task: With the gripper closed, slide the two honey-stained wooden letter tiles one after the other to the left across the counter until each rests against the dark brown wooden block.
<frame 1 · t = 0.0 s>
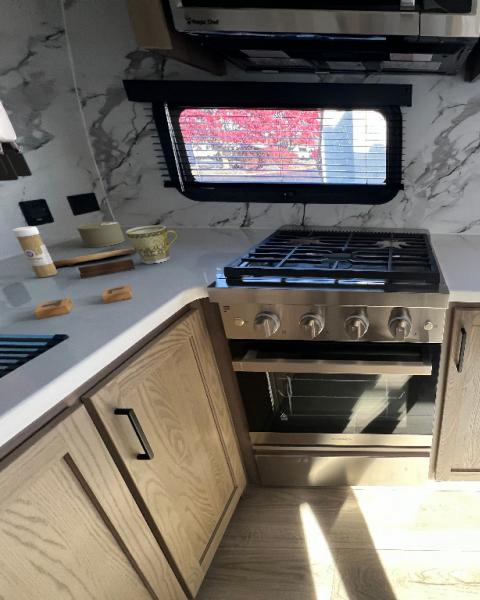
hand: (13, 178, 59), 28 cm above the worktop, tool pointing down, fingers open, 9 cm apart
tile T: (56, 311, 73), on the worktop
wooden board: (92, 259, 105), on the worktop
tile L: (119, 297, 79), on the worktop
ceramic cup: (162, 261, 104), on the worktop
sprinkles bottle: (48, 275, 93), on the worktop
dark brown wooden block: (109, 272, 95), on the worktop
olive green bowl: (106, 243, 123), on the worktop
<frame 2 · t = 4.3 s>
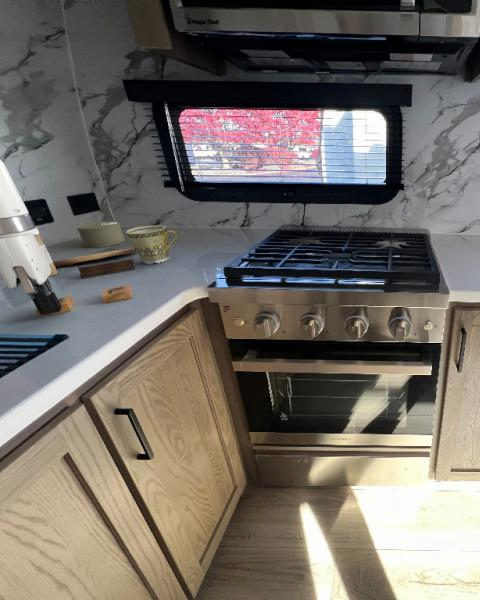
hand: (51, 311, 70), 1 cm above the worktop, tool pointing down, fingers closed
tile T: (57, 309, 74), on the worktop, touching gripper
everything else where it was.
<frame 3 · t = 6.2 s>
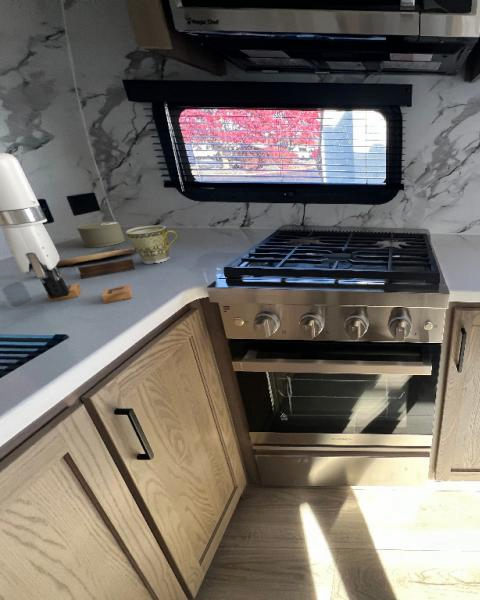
hand: (60, 295, 77), 1 cm above the worktop, tool pointing down, fingers closed
tile T: (66, 295, 81), on the worktop, touching gripper
everything else where it was.
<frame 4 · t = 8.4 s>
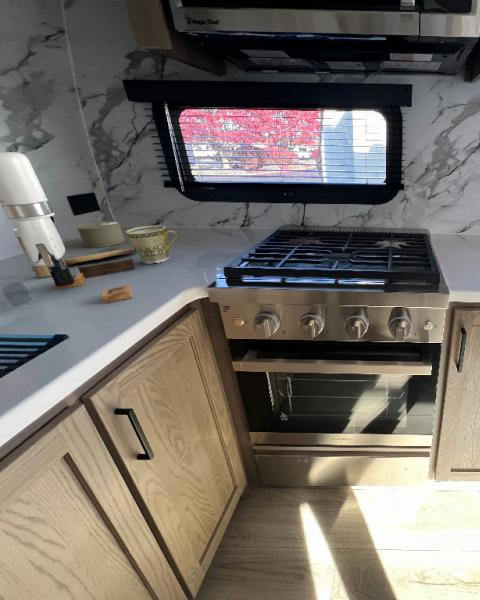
hand: (66, 284, 84), 1 cm above the worktop, tool pointing down, fingers closed
tile T: (71, 284, 87), on the worktop, touching gripper
everything else where it was.
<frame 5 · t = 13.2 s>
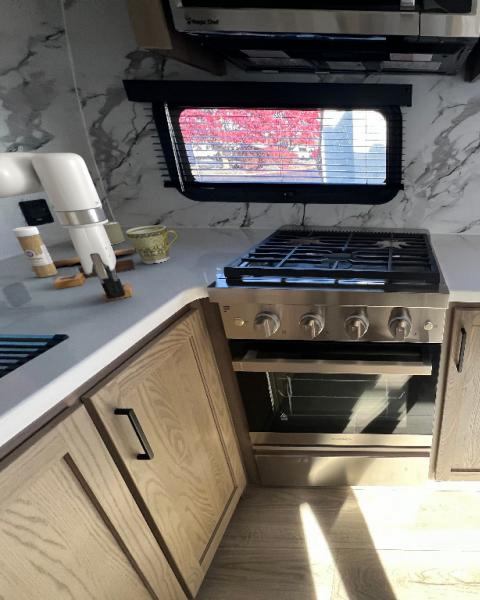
hand: (117, 296, 77), 1 cm above the worktop, tool pointing down, fingers closed
tile T: (71, 284, 87), on the worktop
tile L: (119, 295, 80), on the worktop, touching gripper
everything else where it was.
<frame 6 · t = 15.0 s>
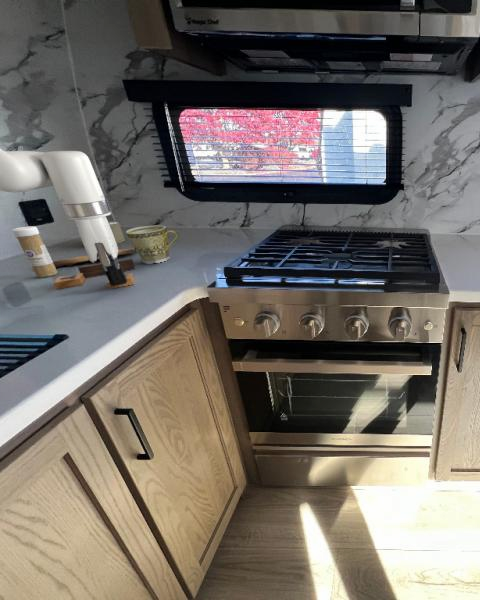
hand: (119, 283, 84), 1 cm above the worktop, tool pointing down, fingers closed
tile L: (122, 284, 87), on the worktop, touching gripper
everything else where it was.
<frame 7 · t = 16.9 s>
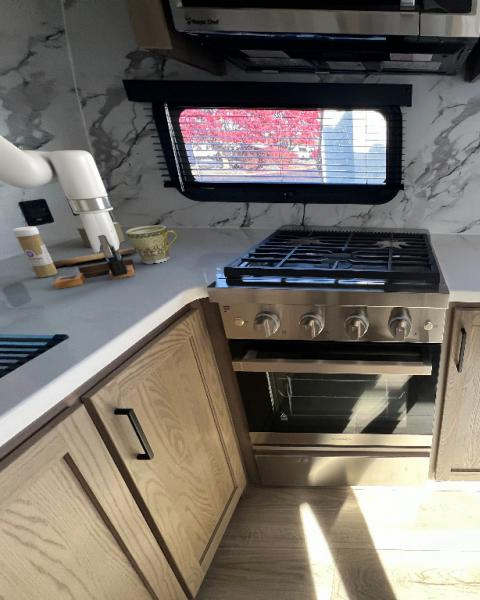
hand: (120, 274, 89), 1 cm above the worktop, tool pointing down, fingers closed
tile L: (123, 275, 93), on the worktop, touching gripper
everything else where it was.
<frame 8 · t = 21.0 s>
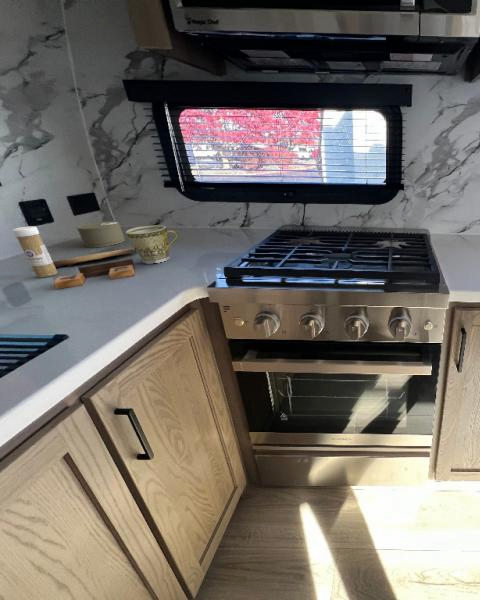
tile L: (123, 274, 93), on the worktop
everything else where it was.
at the end: tile T inside the target area on the worktop beside the dark brown wooden block (6.6 cm from its centre), on the worktop; tile L inside the target area on the worktop beside the dark brown wooden block (3.4 cm from its centre), on the worktop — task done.
